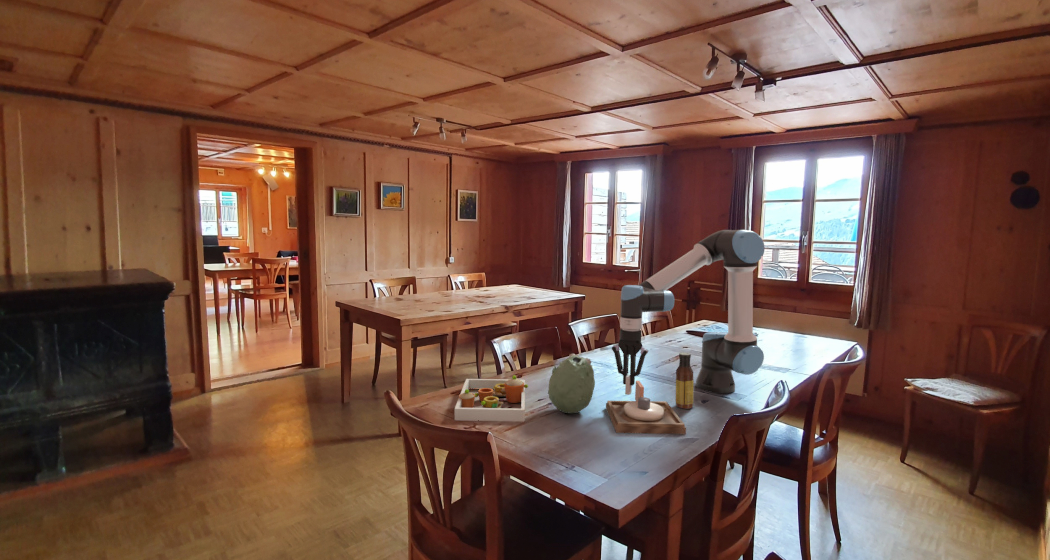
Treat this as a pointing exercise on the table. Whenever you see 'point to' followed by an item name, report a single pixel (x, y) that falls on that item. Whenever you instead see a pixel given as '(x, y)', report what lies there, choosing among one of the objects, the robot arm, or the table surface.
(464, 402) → the toy tea set
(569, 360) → the green monster figurine
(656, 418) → the dial
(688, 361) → the sauce bottle
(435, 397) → the table surface
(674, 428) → the brown wooden tray
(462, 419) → the tea tray rim
